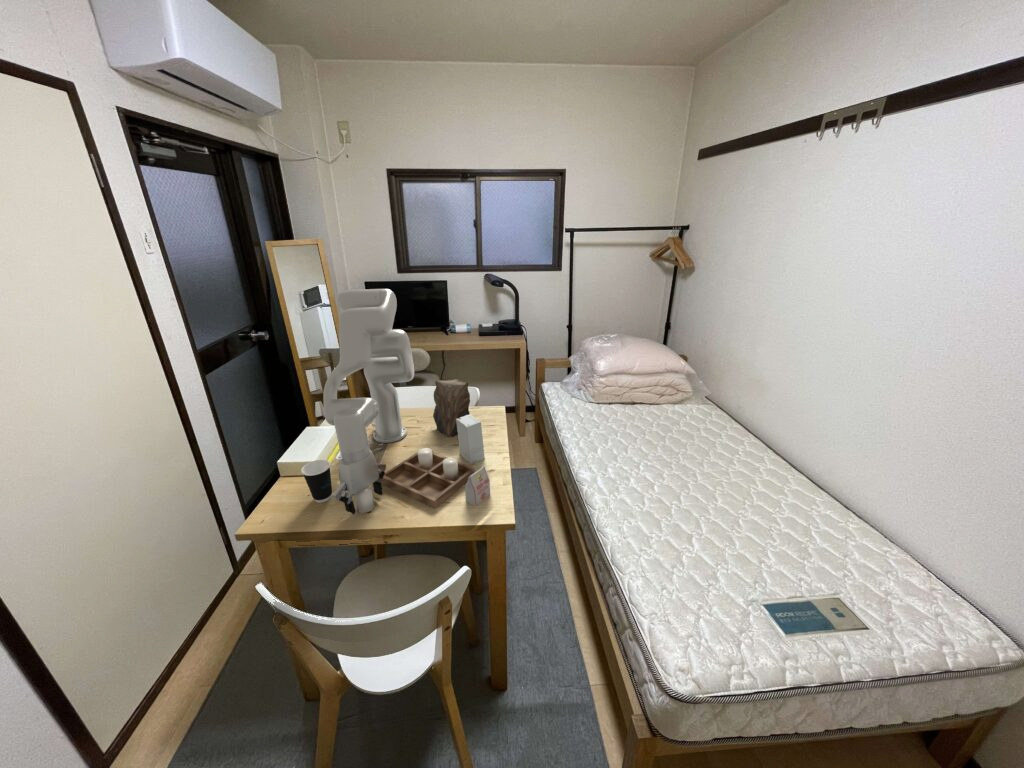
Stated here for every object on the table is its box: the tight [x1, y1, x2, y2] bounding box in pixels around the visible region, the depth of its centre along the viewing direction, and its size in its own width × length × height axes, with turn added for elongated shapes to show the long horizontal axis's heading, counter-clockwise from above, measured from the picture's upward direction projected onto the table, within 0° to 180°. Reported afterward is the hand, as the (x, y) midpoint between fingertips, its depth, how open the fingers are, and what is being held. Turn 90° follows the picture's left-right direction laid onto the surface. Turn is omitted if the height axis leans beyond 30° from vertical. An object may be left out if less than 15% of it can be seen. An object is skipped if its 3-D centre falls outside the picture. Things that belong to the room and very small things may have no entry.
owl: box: [432, 378, 471, 438], centre depth 159 cm, size 13×13×20 cm
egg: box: [354, 485, 375, 513], centre depth 118 cm, size 5×5×6 cm
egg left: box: [417, 447, 433, 471], centre depth 135 cm, size 5×5×6 cm
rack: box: [381, 451, 477, 510], centre depth 130 cm, size 23×19×4 cm
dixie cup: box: [300, 459, 333, 503], centre depth 122 cm, size 8×8×11 cm
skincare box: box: [456, 413, 486, 464], centre depth 140 cm, size 8×6×15 cm
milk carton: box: [464, 465, 491, 507], centre depth 120 cm, size 4×7×10 cm, turn 143°
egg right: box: [443, 456, 459, 481], centre depth 130 cm, size 5×5×6 cm
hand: (365, 502), depth 119 cm, fingers open, 9 cm apart
